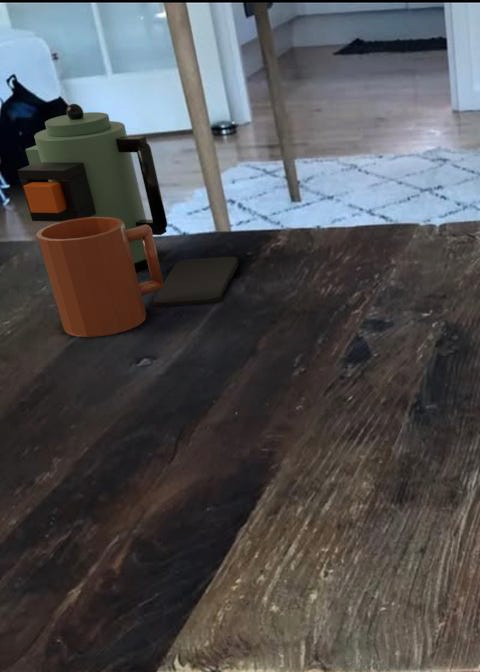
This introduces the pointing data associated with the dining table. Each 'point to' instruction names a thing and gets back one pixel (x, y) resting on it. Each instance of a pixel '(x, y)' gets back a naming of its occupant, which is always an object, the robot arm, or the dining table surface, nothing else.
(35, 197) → the switch
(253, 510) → the dining table surface
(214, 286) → the phone
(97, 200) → the kettle
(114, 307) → the mug
